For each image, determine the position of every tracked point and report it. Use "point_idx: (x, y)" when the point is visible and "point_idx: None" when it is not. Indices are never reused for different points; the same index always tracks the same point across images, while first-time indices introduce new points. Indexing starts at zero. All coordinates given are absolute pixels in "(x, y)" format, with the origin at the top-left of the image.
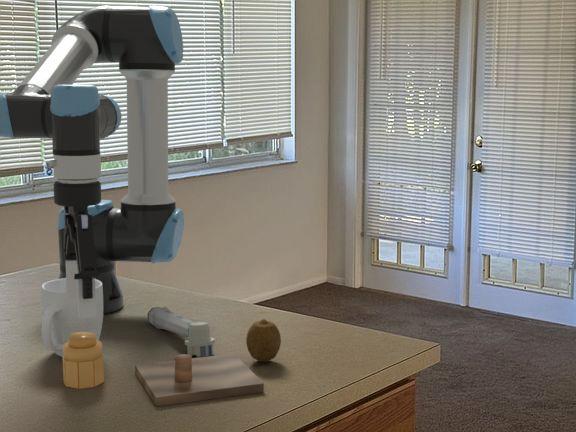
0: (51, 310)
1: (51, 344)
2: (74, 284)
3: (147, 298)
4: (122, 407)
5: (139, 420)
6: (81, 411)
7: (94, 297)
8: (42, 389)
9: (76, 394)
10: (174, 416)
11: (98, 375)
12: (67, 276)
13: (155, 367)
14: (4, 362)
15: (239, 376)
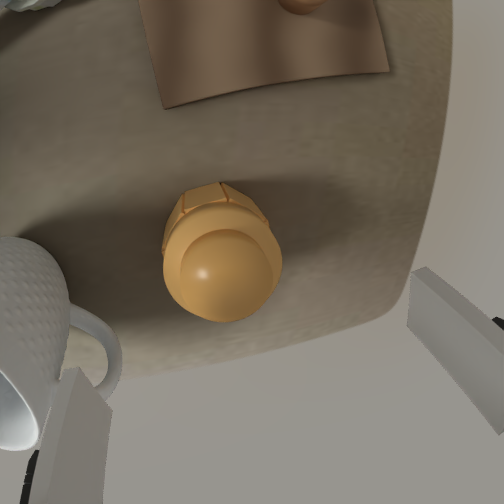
0: None
1: (118, 340)
2: (86, 437)
3: None
4: (373, 136)
5: (426, 113)
6: (374, 212)
7: (478, 315)
8: None
9: (290, 232)
10: (419, 53)
11: (242, 197)
12: (101, 486)
13: (192, 53)
14: None
15: None
